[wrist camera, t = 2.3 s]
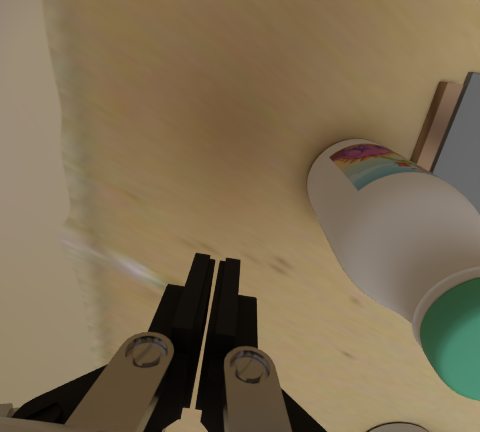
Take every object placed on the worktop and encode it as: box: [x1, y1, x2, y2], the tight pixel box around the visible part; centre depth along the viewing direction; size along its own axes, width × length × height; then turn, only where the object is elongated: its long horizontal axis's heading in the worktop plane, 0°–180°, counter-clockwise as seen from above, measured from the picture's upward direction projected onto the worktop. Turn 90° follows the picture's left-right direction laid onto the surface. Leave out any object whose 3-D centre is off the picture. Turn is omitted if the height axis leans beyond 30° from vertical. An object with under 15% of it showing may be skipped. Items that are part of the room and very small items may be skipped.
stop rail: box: [411, 82, 463, 171], centre depth 29 cm, size 18×1×1 cm, turn 171°
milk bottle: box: [307, 139, 480, 401], centre depth 20 cm, size 8×8×20 cm
